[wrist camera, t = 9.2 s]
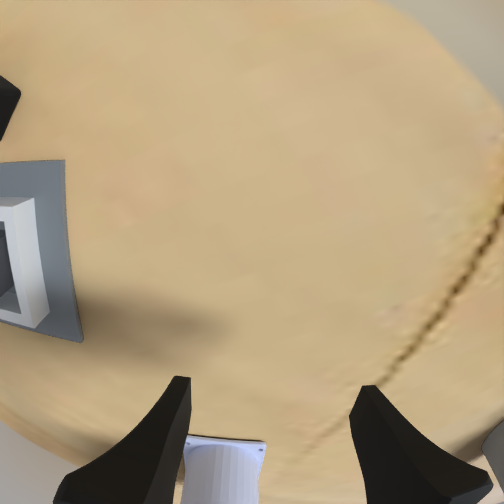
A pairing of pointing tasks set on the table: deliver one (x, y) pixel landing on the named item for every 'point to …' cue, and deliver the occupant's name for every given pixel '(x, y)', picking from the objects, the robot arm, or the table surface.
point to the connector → (5, 265)
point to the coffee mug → (496, 452)
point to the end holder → (38, 249)
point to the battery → (7, 102)
